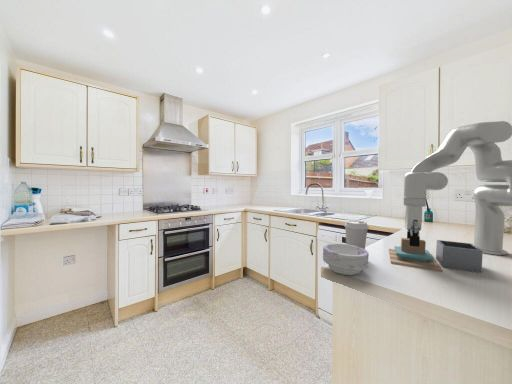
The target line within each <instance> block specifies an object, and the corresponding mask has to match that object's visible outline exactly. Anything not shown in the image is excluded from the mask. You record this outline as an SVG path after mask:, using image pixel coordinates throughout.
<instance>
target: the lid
mask: <svg viewBox="0 0 512 384" xmlns="http://www.w3.org/2000/svg"><path fill="white" fill-rule="evenodd" d="M409 243H410V239H409V238H407V237H401V239H400V246H398V245H395V246H394V249H395V251H396V255H397V256H400V258H401V259H406V260H413V261H420V262H428V260H432V261H434V258H435V257H434V255H433V254H432V253H431V252H430V251H429V250H428V249H426V245H427V244H426V243H427V241H426V240H424V239H420V244H419V247H416V246H410V245H409ZM431 254H432V255H431ZM433 257H434V258H433Z"/></svg>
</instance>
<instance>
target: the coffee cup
mask: <svg viewBox="0 0 512 384" xmlns="http://www.w3.org/2000/svg"><path fill="white" fill-rule="evenodd" d="M343 227H345V242H346V243H345V244H348V245H353V246H357V247H360V248H363V249H365V250H366V243H367V236H368V235H367V234H368V230H369V228H370V227H369V225H368V222H366V221H361V220H346V221H345V223H344V225H343Z"/></svg>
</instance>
